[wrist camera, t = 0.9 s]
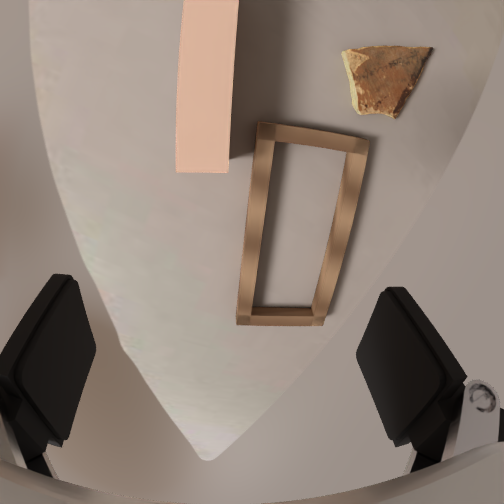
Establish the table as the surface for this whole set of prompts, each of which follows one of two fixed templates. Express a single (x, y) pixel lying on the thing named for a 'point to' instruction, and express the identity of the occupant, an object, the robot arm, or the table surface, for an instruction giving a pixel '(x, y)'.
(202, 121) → the pink rectangular block
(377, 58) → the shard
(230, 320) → the table surface
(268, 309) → the brown wooden frame
